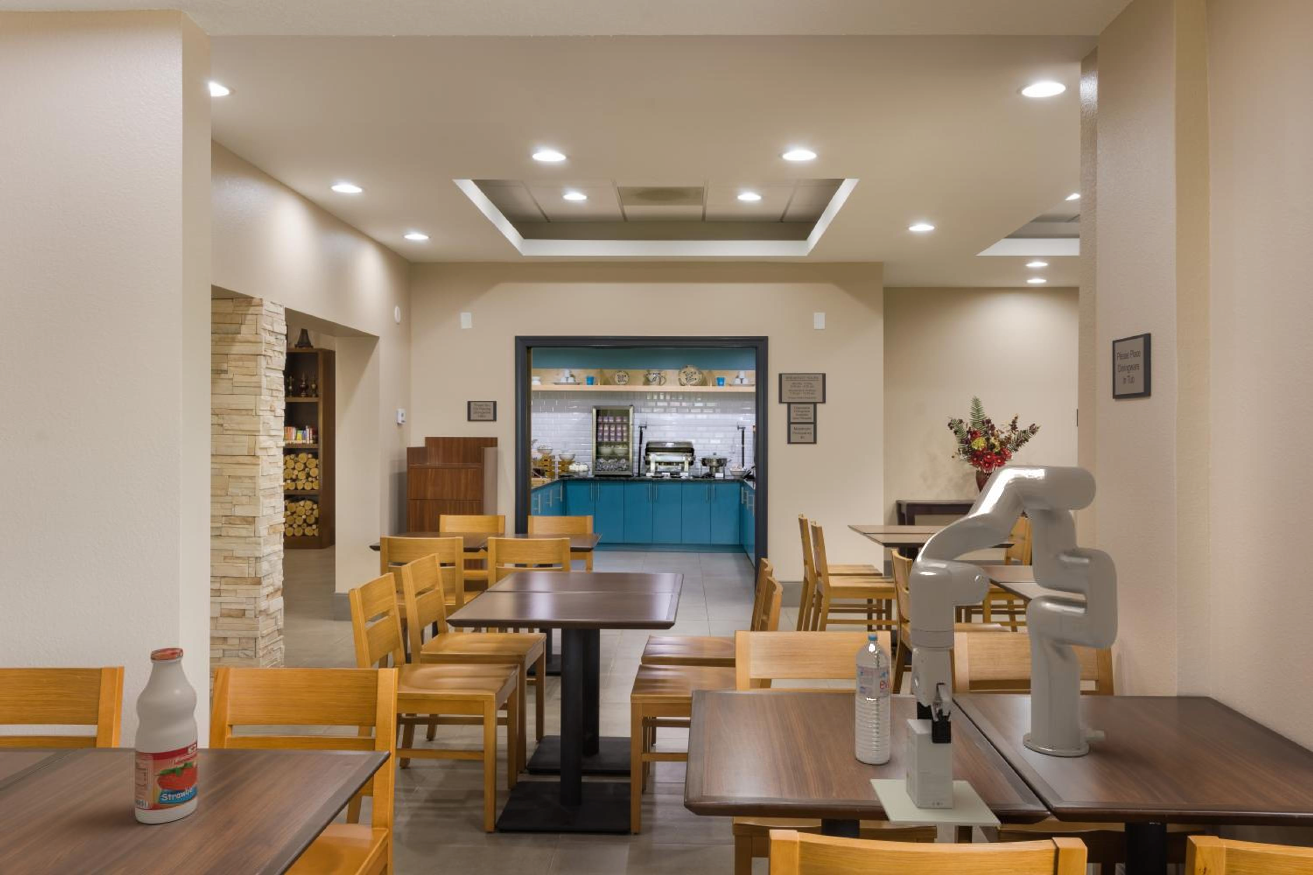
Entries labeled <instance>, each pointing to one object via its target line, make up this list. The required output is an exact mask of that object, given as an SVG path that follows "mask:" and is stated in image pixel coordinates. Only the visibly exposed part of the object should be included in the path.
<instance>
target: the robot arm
mask: <svg viewBox="0 0 1313 875" xmlns="http://www.w3.org/2000/svg"><path fill="white" fill-rule="evenodd" d="M1096 494H1097V485H1096V479H1095V477H1094V475H1093V474H1092V472H1090V470H1088V469H1087V468H1084V467H1082V466H1081V467H1080V466H1061V465H1060V466H1058V465H1057V466H1055V465H1038V464H1037V465H1036V464H1034V465H1033V464H1032V465H1031V464H1030V465H1029V464H1008V465H1007V464H1006V465H1002V466H1000V467H997V468H996V469H994V470H993V471H992V473H991V474H990V475H989V477H988V479H987V481H986V482H985V484H984V486H983V487H982V490H981V491H980V493H979V494H978V496H977V497H976V499H975V501H974V503H973V504H972V506H971V508H970V509H969V512H968V513H967V514H966V515H965V516H963V517H960V518H959V519H957V520H955V521H953V522H952V523H950V524H948V525H947V526H945V527H944V528H942V529H940V530H938V531H937V532H935V533H933V535H932V536H931V537H929V539H927V540H926V542H925V543H924V545H923V546H922V548H921V549H920V550H919V553H918V554H917V556H916V557H915V559H914V561H913V563H912V566H911V569H910V571H909V576H908V583H909V584H908V590H909V591H908V592H909V594H908V595H909V596H908V598H909V599H908V600H909V603H908V604H909V643H910V644H909V645H910V647H912V653H911V654H912V655H911V684H910V685H911V691H912V694H913V695H914V696H915V698H916V719H922V720H931V727H932V742H933V743H934V744H949V743H951V733H952V716H951V714H952V713H951V705H952V703H953V679H952V678H953V677H952V675H953V674H952V661H951V652H950V650H953V649H954V648H955V618H954V615H955V614H954V613H955V612H954V610H955V609H954V608H955V607H958V606H960V607H961V606H976V605H978V604H979V603H981V602H982V601H984V600H985V599H986V598H987V596H988V594H989V593H990V589H991V579H990V577H989V574H988V573H987V571H986V570H985V569H983V567H981V566H979V565H976V564H972V563H966V562H961V561H960V562H958V561H955V560H956V559H957V558H958V557H961V556H963V555H966V554H969V553H973V552H977V551H982V550H985V549H989V548H993V547H996V546H999V545H1001V544H1003V543H1005V542H1006V541H1008V539H1009V538H1010V535H1011V534H1012V532H1013V530H1014V528H1015V526H1016V525H1017V522H1018V521H1019V519H1020V518H1021V516H1022V514H1023V512H1024V513H1025V514H1026V516H1027V519H1028V521H1029V524H1030V525H1029V526H1030V535H1031V536H1030V537H1031V538H1030V539H1031V566H1032V575H1033V576H1032V577H1033V580H1034V582H1035V584H1036V585H1038V586H1039V587H1041V588H1042V589H1047V590H1051V591H1054V592H1055V591H1057V592H1063V593H1069V594H1070V593H1071V594H1079V595H1083V596H1084V599H1079V598H1073V597H1067V596H1059V595H1052V594H1047V595H1046V594H1044V595H1039V596H1036V597H1034V598H1032V599H1031V600H1030V601H1029V603H1028V604H1027V606H1026V610H1025V623H1026V628H1027V634H1028V638H1029V647H1030V732H1028V733H1025V734H1024V735H1023V736H1022V743H1023V745H1025V747H1027V748H1029V749H1030V750H1033V751H1036V752H1038V753H1042V754H1046V755H1050V756H1058V757H1079V756H1084V755H1086V754H1087V753H1088V752H1089V743H1087V742H1090V740H1091V741H1093V740H1094V741H1105V740H1106V735H1105V732H1104V730H1093V729H1092V728H1093V727H1092V728H1091V727H1083V726H1081V663H1080V660H1079V657H1078V655H1077V653H1076V652H1075V650H1074V649H1073V646H1075V647H1081V648H1086V649H1091V650H1101V651H1102V650H1107V649H1109V648H1111V647H1112V646H1113V645H1114V643H1115V642H1116V640H1117V637H1118V631H1119V630H1118V629H1119V628H1118V627H1119V626H1118V624H1119V616H1118V613H1119V612H1118V607H1119V606H1118V580H1117V579H1118V578H1117V577H1118V576H1117V568H1116V565H1115V562H1114V560H1113V558H1112V557H1111V555H1110V554H1109V553H1108V552H1106V551H1105V550H1102V549H1099V548H1098V549H1097V548H1092V547H1082V546H1081V547H1079V546H1078V544H1077V540H1076V539H1077V537H1076V524H1075V519H1074V517H1073V516H1072V514H1071V512H1070V511H1080V510H1084V509H1086V508H1088V507H1089V506H1090V505H1091V504H1092V503H1093V501H1094V499H1095V497H1096ZM953 560H954V561H953ZM937 708H938V709H937ZM937 710H938V711H937Z"/></svg>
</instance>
